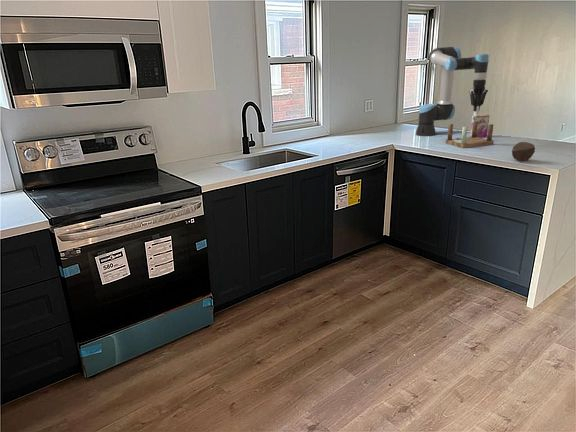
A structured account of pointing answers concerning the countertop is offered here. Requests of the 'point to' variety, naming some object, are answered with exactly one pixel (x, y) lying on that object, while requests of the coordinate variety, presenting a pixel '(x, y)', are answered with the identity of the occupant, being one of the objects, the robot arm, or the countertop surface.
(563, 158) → the countertop surface
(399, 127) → the countertop surface
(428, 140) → the countertop surface
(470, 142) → the wooden peg board
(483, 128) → the candy bar box
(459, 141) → the crank handle
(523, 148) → the rock
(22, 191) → the countertop surface
